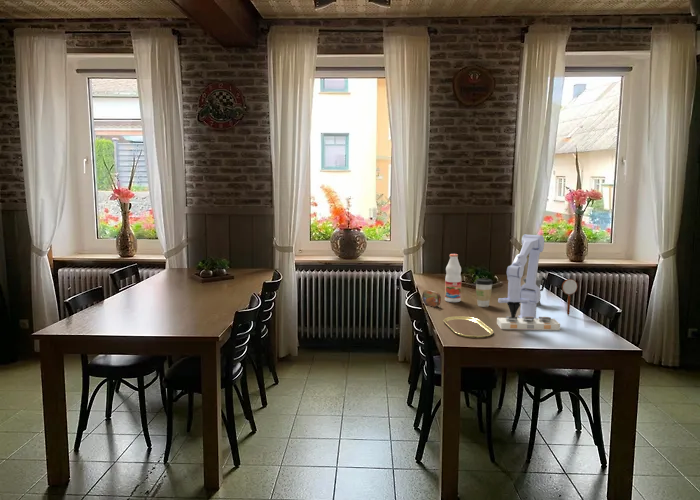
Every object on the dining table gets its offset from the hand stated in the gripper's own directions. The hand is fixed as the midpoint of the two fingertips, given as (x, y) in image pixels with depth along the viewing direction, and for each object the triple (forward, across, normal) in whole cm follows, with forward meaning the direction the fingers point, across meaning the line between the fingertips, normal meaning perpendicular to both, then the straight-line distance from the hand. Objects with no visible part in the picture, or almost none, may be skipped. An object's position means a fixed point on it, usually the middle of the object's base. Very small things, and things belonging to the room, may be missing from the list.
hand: (512, 317), depth 260 cm
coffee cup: (+5, -6, +46) cm, 47 cm away
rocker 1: (+1, 0, +3) cm, 3 cm away
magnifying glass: (+5, +35, +26) cm, 44 cm away
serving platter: (+6, -22, -1) cm, 23 cm away
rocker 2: (+1, +8, +3) cm, 9 cm away
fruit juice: (+5, -22, +57) cm, 61 cm away
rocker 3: (+1, +16, +3) cm, 16 cm away
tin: (+6, -36, +45) cm, 58 cm away
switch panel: (+5, +8, +3) cm, 10 cm away
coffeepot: (+5, +24, +52) cm, 57 cm away
